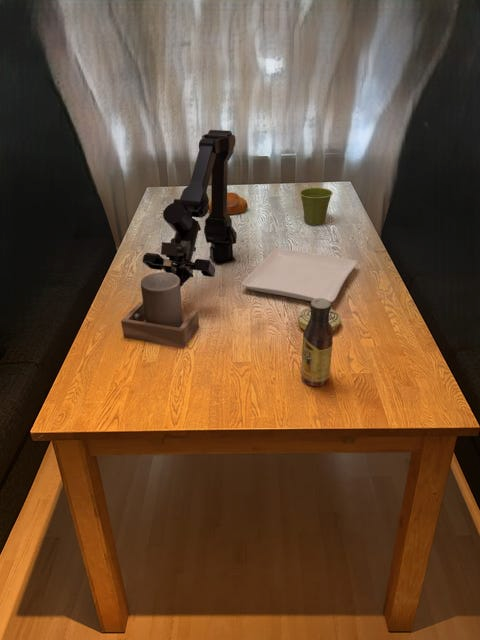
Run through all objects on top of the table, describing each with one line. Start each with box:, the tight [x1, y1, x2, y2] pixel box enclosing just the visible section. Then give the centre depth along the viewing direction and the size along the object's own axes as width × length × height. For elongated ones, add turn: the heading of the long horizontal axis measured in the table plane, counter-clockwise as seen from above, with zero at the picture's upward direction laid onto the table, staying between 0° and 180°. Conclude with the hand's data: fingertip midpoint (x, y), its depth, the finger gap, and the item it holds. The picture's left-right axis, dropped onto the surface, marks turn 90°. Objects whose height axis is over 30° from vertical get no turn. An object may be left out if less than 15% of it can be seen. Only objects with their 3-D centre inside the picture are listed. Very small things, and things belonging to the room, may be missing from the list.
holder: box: [120, 301, 200, 349], centre depth 133 cm, size 10×16×5 cm, turn 71°
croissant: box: [208, 192, 248, 215], centre depth 207 cm, size 14×16×8 cm
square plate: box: [241, 248, 359, 304], centre depth 155 cm, size 27×27×4 cm
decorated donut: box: [297, 307, 342, 333], centre depth 134 cm, size 10×11×4 cm
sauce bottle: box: [300, 298, 334, 387], centre depth 111 cm, size 7×6×20 cm
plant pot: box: [298, 187, 334, 226], centre depth 192 cm, size 12×12×11 cm
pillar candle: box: [140, 271, 184, 328], centre depth 132 cm, size 10×10×15 cm
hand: (171, 295), depth 136 cm, fingers closed, pressing on pillar candle
